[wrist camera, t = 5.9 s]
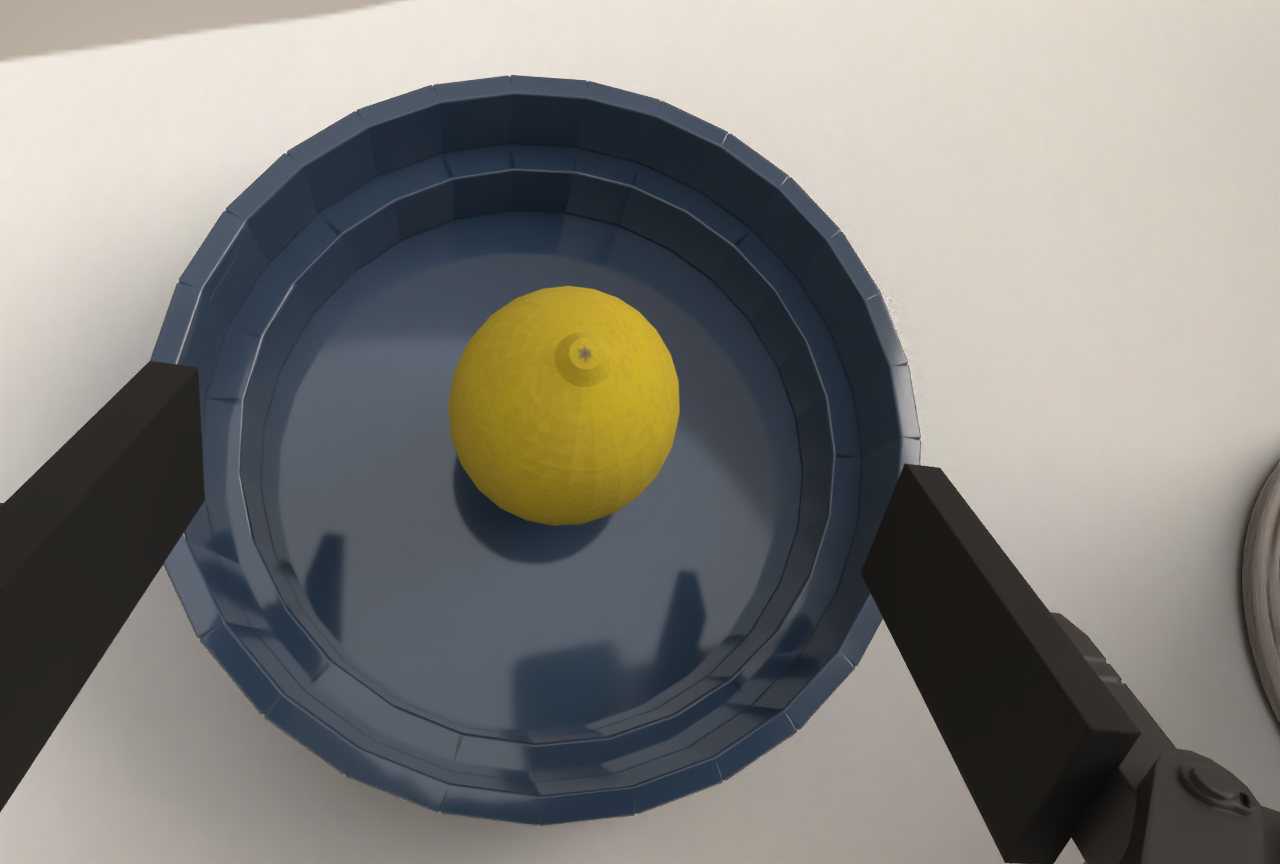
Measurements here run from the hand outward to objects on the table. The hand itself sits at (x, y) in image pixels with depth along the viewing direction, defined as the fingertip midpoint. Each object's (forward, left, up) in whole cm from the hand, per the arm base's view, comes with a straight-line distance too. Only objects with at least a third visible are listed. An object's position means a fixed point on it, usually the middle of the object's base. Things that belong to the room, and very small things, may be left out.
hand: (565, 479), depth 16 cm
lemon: (-2, -2, -8) cm, 9 cm away
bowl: (-2, -2, -8) cm, 9 cm away
